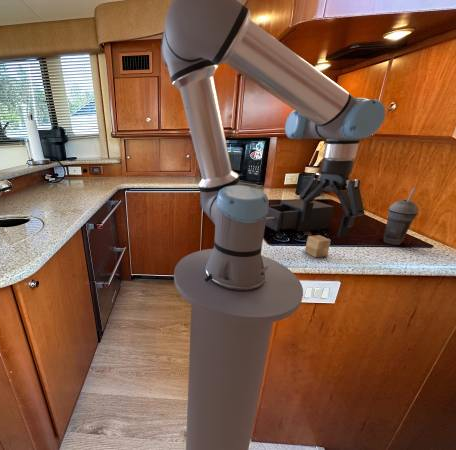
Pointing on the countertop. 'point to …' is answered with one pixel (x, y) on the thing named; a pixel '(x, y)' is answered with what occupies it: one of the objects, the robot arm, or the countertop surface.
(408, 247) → the countertop surface
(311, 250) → the block
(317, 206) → the dark brown box
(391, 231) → the beverage cup
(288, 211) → the basket
